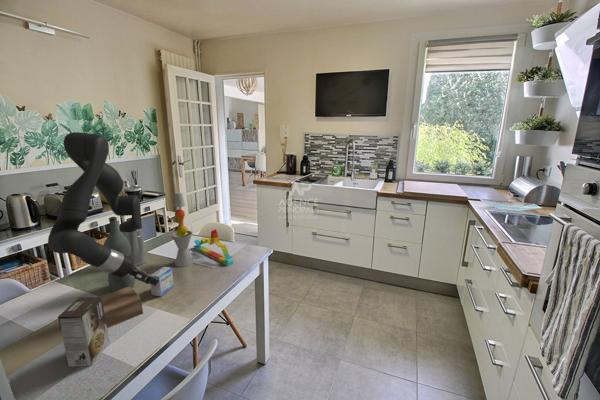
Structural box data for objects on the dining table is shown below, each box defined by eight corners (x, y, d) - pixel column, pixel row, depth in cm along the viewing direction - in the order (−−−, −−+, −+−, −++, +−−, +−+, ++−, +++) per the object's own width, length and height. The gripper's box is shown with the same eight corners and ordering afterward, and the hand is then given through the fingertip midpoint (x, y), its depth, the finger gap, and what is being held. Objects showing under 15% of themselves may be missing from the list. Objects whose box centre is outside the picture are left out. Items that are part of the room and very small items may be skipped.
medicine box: (161, 297, 112) (159, 276, 109) (151, 295, 112) (149, 275, 110) (174, 286, 119) (172, 267, 117) (164, 285, 120) (162, 266, 118)
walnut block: (95, 313, 101) (92, 298, 100) (132, 299, 110) (130, 286, 108) (103, 330, 93) (100, 314, 92) (143, 314, 102) (141, 299, 100)
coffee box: (88, 343, 87) (79, 296, 83) (110, 342, 88) (102, 295, 84) (67, 367, 79) (56, 316, 75) (92, 366, 79) (82, 315, 75)
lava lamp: (170, 263, 138) (163, 193, 130) (186, 256, 146) (181, 189, 137) (181, 268, 134) (175, 195, 125) (198, 261, 141) (193, 192, 132)
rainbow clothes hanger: (193, 249, 156) (191, 223, 152) (199, 247, 158) (197, 221, 155) (227, 266, 137) (226, 237, 133) (233, 264, 139) (231, 235, 136)
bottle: (141, 284, 120) (131, 216, 112) (119, 295, 112) (108, 222, 104) (126, 279, 124) (116, 212, 116) (104, 289, 115) (92, 219, 108)
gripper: (130, 259, 97) (166, 276, 108) (113, 247, 105) (148, 265, 117) (115, 279, 94) (154, 295, 105) (99, 266, 102) (136, 282, 114)
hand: (151, 279), depth 111 cm, fingers open, 8 cm apart
